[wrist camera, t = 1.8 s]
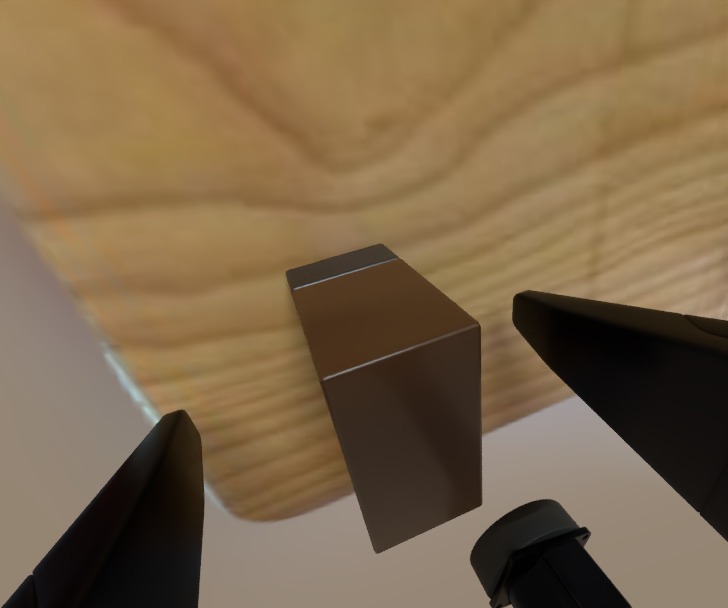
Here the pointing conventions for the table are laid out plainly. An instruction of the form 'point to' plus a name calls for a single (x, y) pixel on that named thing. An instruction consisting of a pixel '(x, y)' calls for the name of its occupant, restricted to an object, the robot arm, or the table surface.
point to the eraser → (396, 388)
